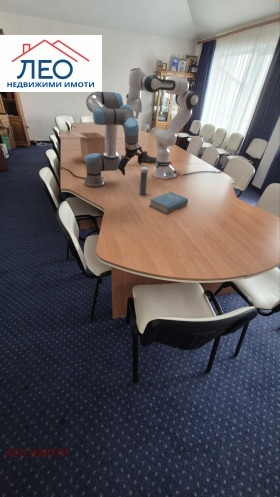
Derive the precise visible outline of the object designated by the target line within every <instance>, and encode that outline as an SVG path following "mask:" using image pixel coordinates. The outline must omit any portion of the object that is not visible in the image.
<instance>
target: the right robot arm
mask: <svg viewBox="0 0 280 497" xmlns="http://www.w3.org/2000/svg"><path fill="white" fill-rule="evenodd" d="M189 86H190V84H189V80H188V79H186V78H183V77H180V76H169V77H168V78H166V79H164V78H160V77H159V76H157V75H155V74H147V73H145V72H144V71H143V70H142V68H140V67H135V68H132V69H130V71H129V76H128V87H129V88H128V93H127V94H126V95H125V99H126V105H129V106H131V108H132V110H133V113H134V112H135V115H134V117H135V119H136V120H138V119H139V115H140V113H143V101H142V99H141V98H142V97H141V95H142V92H145V93H151V94H153V93H156V92H157V91H165V92H166V93H167V94H169V95H175V98H174V99H175V104H176V105H177V106H179V107H180V109H179V111H178V112H176V114H175V115H174V116H173V117H172V119H171V120H170V122H169V126H168V128H167V129H163V128H161V129H157V130H155V132H154V135H153V137H154V140H155V144H156V158H157V159H156V163H154V164H155V165H154V171H153V175H152V176H153V177H154V178H156V179H162V180H169V179H173V178H177V175H178V176H180V174H179V172H178V171H177V170H176V169H174V168H173V167H172V166H171V165H172V164H173V162H172V161H169V158H170V150H169V147H173V146H175V144H176V143H177V138H178V135H179V133H180V131H181V130H182V129H183V128H184V127H185V125H186V124H187V123H188V122H189V120H190V119H191V117H192V115H193V110H194V109H195V107H196V106H197V104H198V102H199V94H198V93H197V92H195V91H192V90H189ZM222 172H223V170H221V171H219V173H222ZM197 173H198V171H194V172H190V173H184V174H183V176H188V175H191V174H197ZM199 173H215V170H213V171H212V170H211V171H210V170H202V171H199ZM176 174H177V175H176Z"/></svg>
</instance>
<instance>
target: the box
mask: <svg viewBox="0 0 280 497" xmlns="http://www.w3.org/2000/svg"><path fill="white" fill-rule="evenodd" d="M70 133H71V134H72V135H74V136H75V137H77V138H79V144H80V153H81V160H83V162H85V163H86V156H87V155H89V154H92V153H99V154H100V155H101V156H103V153H104V152H105V131H98V132H96V131H95V130H92V129H91V130H77V132H76V131H70Z"/></svg>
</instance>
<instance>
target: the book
mask: <svg viewBox="0 0 280 497" xmlns="http://www.w3.org/2000/svg"><path fill="white" fill-rule="evenodd" d="M149 201H150V204H149V207H151V208H154V209H155V210H157V211H159V212H161V213H164V214H168V213H171V212H173V211H175V210H178V209H180V208H182V207H185V206H186V205H188V202H189V198H188V197H184V196H182V195H180V194H177V193H175V192H172V191H169V192H166V193H164V194H161V195H158V196H156V197H152V198H150V199H149Z"/></svg>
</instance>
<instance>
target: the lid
mask: <svg viewBox="0 0 280 497" xmlns="http://www.w3.org/2000/svg"><path fill="white" fill-rule="evenodd" d="M139 169H140V170H139V172H140V173H141V172H144V173H146V172H147V173H149V167H146V166H141V167H140V168H139Z"/></svg>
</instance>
